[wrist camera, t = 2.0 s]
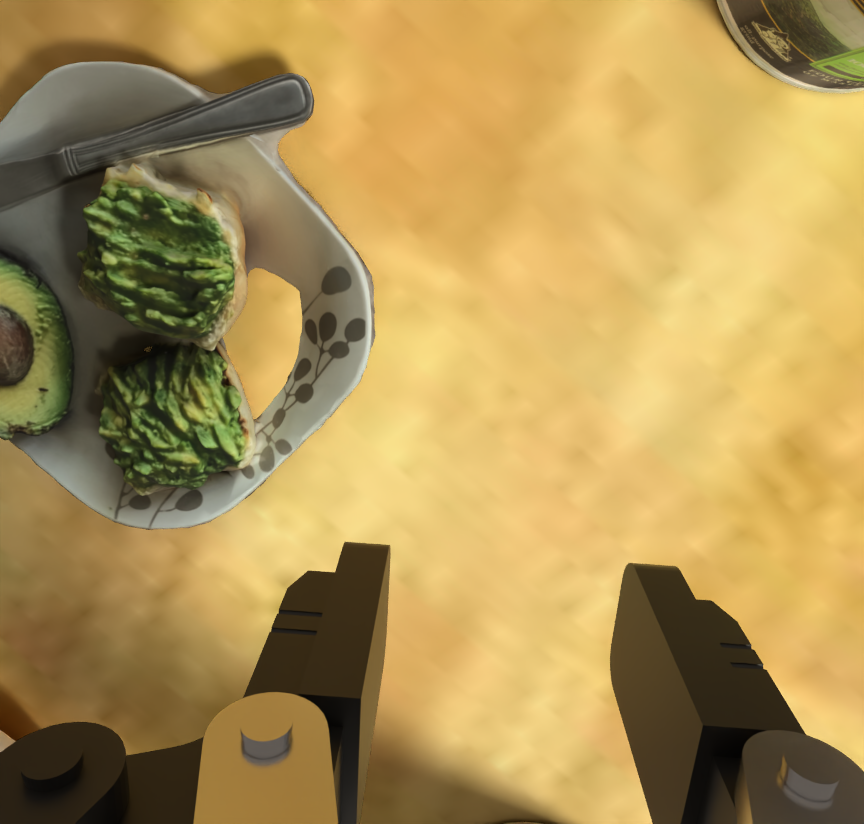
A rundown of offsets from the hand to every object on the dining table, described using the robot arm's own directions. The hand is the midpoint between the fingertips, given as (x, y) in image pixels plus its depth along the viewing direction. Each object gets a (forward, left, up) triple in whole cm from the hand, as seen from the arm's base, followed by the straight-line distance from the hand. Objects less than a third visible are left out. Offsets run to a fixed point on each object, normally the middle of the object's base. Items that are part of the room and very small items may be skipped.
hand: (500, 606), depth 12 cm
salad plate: (+14, 0, -20) cm, 24 cm away
